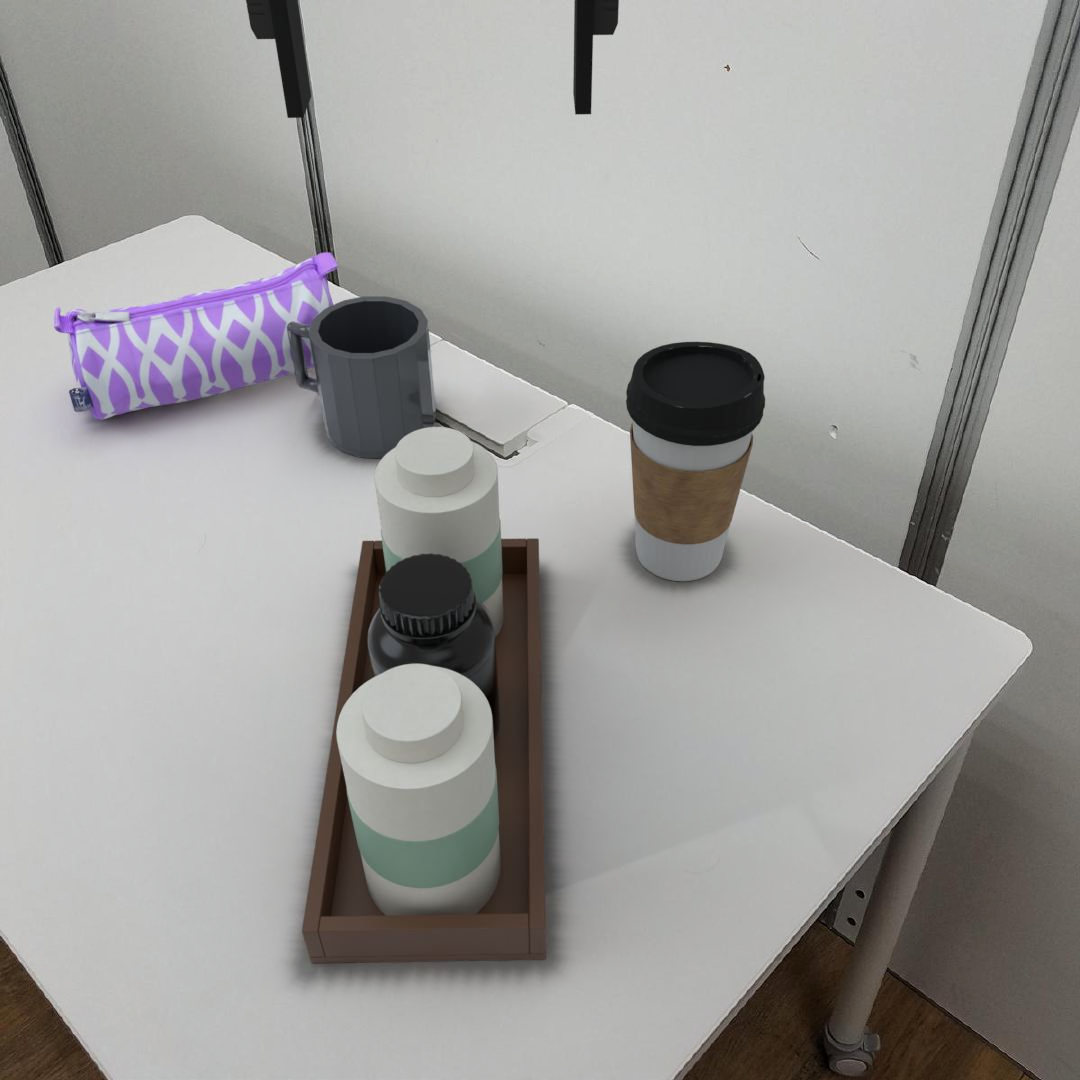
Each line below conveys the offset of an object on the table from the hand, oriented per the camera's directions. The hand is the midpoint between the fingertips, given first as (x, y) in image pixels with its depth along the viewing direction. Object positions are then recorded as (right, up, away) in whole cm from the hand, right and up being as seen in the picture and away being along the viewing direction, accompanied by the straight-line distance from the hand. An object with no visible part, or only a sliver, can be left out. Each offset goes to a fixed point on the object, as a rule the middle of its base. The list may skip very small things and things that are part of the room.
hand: (441, 106), depth 54 cm
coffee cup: (+14, -22, +23) cm, 35 cm away
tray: (-1, -32, +11) cm, 34 cm away
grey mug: (-9, -11, +35) cm, 38 cm away
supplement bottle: (-1, -32, +11) cm, 34 cm away
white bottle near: (-1, -38, +4) cm, 38 cm away
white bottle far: (-1, -26, +18) cm, 31 cm away
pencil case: (-22, -8, +39) cm, 45 cm away
